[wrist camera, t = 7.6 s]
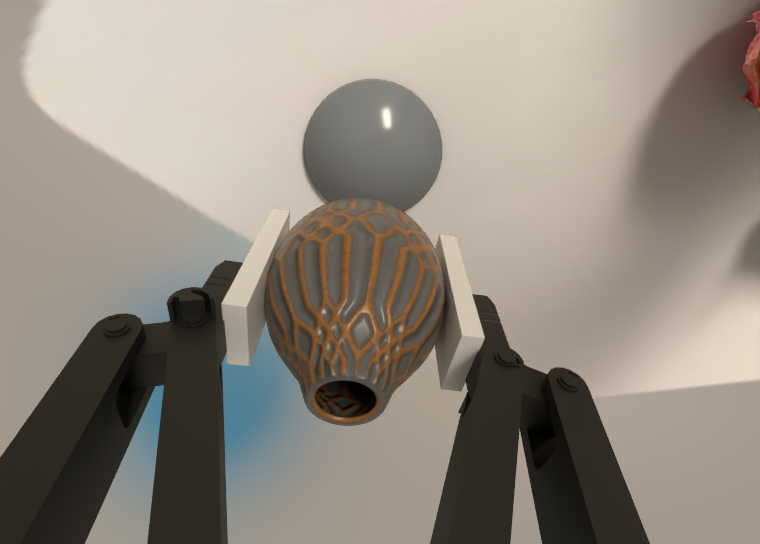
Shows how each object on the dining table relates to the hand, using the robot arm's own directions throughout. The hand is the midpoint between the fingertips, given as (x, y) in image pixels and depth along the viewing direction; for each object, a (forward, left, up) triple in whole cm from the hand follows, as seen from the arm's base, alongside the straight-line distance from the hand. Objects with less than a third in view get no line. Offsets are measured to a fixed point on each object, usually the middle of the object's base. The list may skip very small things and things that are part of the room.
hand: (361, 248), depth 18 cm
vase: (0, 0, -1) cm, 1 cm away
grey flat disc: (0, 0, -13) cm, 13 cm away
